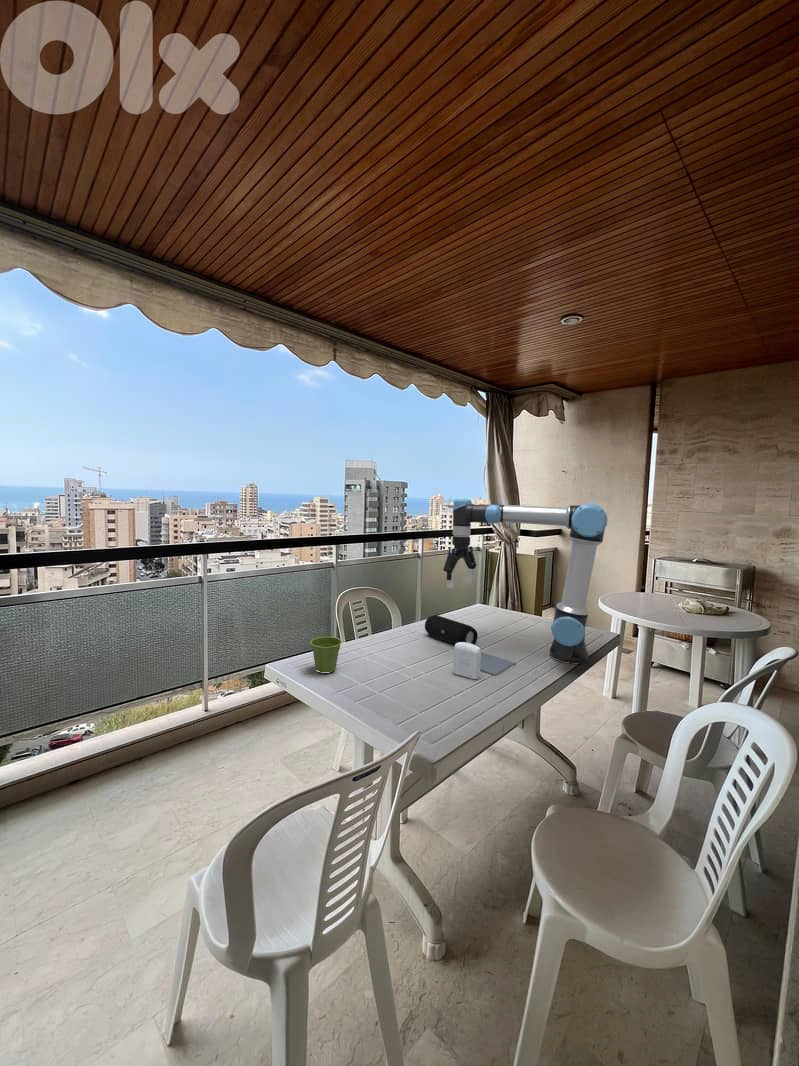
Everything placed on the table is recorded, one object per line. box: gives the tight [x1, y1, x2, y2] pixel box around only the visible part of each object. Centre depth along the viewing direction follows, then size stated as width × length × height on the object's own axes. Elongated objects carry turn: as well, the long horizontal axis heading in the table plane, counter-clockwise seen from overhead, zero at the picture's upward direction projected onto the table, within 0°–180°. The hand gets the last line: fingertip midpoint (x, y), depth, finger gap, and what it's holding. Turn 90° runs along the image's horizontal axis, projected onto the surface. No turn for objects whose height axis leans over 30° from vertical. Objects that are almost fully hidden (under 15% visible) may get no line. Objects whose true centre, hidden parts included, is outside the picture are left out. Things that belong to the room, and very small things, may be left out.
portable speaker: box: [424, 614, 479, 645], centre depth 199 cm, size 26×10×10 cm, turn 40°
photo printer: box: [452, 642, 482, 680], centre depth 161 cm, size 10×4×12 cm, turn 56°
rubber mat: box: [480, 651, 517, 677], centre depth 173 cm, size 16×16×1 cm
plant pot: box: [309, 636, 343, 672], centre depth 163 cm, size 12×12×11 cm
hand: (459, 585), depth 186 cm, fingers open, 13 cm apart
